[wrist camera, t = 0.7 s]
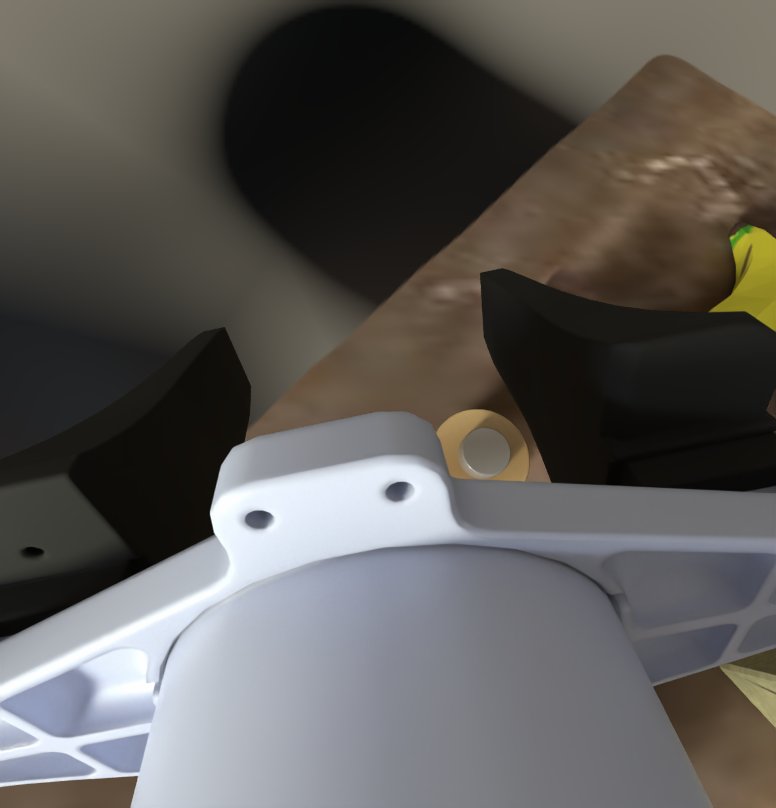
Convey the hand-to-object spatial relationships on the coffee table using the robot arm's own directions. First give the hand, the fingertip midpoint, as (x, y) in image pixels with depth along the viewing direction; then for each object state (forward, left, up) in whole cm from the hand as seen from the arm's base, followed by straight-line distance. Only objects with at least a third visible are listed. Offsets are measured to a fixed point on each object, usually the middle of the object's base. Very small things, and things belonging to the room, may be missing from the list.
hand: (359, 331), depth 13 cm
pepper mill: (-3, -5, -17) cm, 18 cm away
